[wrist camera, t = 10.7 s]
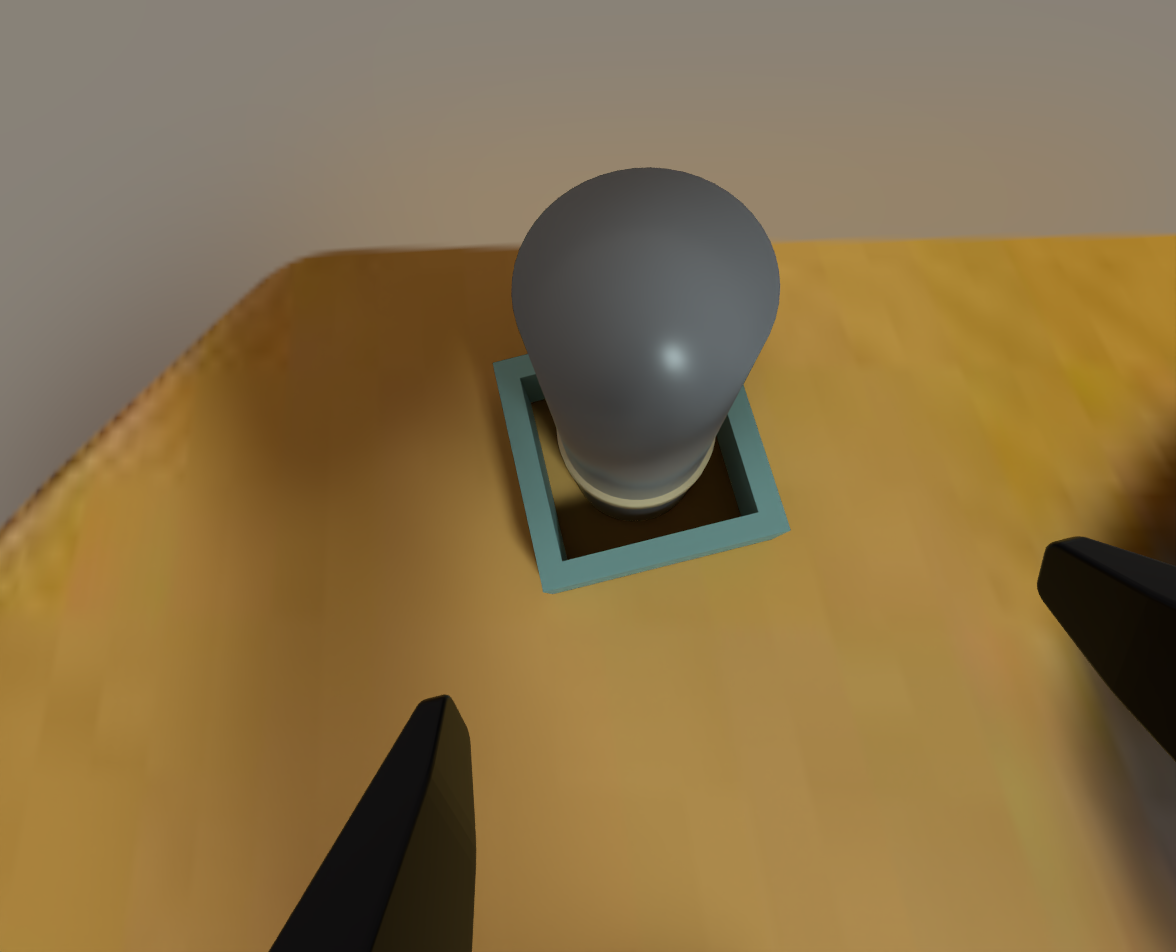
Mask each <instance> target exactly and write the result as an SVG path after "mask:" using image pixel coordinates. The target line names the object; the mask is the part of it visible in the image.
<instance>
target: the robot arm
mask: <svg viewBox="0 0 1176 952" xmlns="http://www.w3.org/2000/svg"><path fill="white" fill-rule="evenodd" d="M1037 589H1038V592H1039V595H1040V597H1041V599H1042V600H1043V602H1044V603H1045V604H1046V606H1047V607H1048V608H1049V610H1050V611H1051V612H1052V614H1053V615H1054V616H1055V618H1056V619H1057V620H1058V622H1059V623H1060V624H1061V626H1062V627H1063V628H1064V630H1065V631H1066V632H1067V634H1068V635H1069V636H1070V638H1071V639H1072V640H1073V642H1074V643H1075V644H1076V645H1077V647H1078V648H1079V649H1080V651H1081V652H1082V653H1083V655H1084V656H1085V657H1086V659H1087V660H1088V661H1089V663H1090V664H1091V665H1092V667H1093V668H1094V669H1095V671H1096V672H1097V673H1098V675H1099V676H1100V677H1101V678H1102V680H1103V681H1104V682H1105V683H1106V685H1107V686H1108V687H1109V688H1110V690H1111V691H1112V692H1113V693H1114V694H1115V696H1116V697H1117V698H1118V699H1119V700H1120V701H1121V702H1122V704H1123V705H1124V706H1125V707H1126V708H1127V709H1128V710H1129V711H1130V712H1131V714H1132V715H1133V716H1134V717H1135V718H1136V719H1137V720H1138V721H1139V722H1140V723H1141V725H1142V726H1143V727H1144V728H1145V729H1146V730H1147V731H1148V732H1149V733H1150V734H1151V736H1152V737H1153V738H1154V739H1155V740H1156V741H1157V742H1158V743H1159V744H1160V745H1161V746H1162V748H1163V749H1164V750H1165V751H1166V752H1167V753H1168V754H1169V755H1170V756H1171V757H1172V759H1173V760H1174V761H1175V762H1176V566H1174V565H1170V564H1167V563H1164V562H1161V561H1158V560H1155V559H1152V558H1149V557H1145V556H1142V555H1139V554H1136V553H1133V552H1130V551H1127V550H1124V549H1120V548H1117V547H1114V546H1111V545H1108V544H1105V543H1102V542H1099V541H1095V540H1092V539H1089V538H1086V537H1080V536H1078V537H1071V538H1067V539H1063V540H1059V541H1055V542H1052V543H1050V544H1049V545H1048V546H1047V547H1046V549H1045V552H1044V556H1043V560H1042V564H1041V568H1040V572H1039V577H1038V581H1037ZM475 875H476V831H475V814H474V796H473V779H472V762H471V745H470V737H469V732H468V729H467V726H466V724H465V723H464V721H463V719H462V717H461V715H460V713H459V711H458V709H457V707H456V705H455V703H454V702H453V700H452V698H451V697H450V696H449V695H440V696H436V697H432V698H428V699H425V700H423V701H421V702H420V703H419V704H418V706H417V707H416V709H415V710H414V712H413V714H412V715H411V717H410V719H409V720H408V722H407V724H406V725H405V727H404V729H403V730H402V732H401V734H400V735H399V737H398V738H397V740H396V742H395V743H394V745H393V747H392V748H391V750H390V752H389V753H388V755H387V757H386V758H385V760H384V762H383V763H382V765H381V767H380V768H379V770H378V772H377V773H376V775H375V777H374V778H373V780H372V782H371V783H370V785H369V786H368V788H367V790H366V791H365V793H364V795H363V796H362V798H361V800H360V801H359V803H358V805H357V806H356V808H355V810H354V811H353V813H352V815H351V816H350V818H349V820H348V821H347V823H346V825H345V826H344V828H343V829H342V831H341V833H340V834H339V836H338V838H337V839H336V841H335V843H334V844H333V846H332V848H331V849H330V851H329V853H328V854H327V856H326V858H325V859H324V861H323V863H322V864H321V866H320V868H319V869H318V871H317V872H316V874H315V876H314V877H313V879H312V881H311V882H310V884H309V886H308V887H307V889H306V891H305V892H304V894H303V896H302V897H301V899H300V901H299V902H298V904H297V906H296V907H295V909H294V911H293V912H292V914H291V915H290V917H289V919H288V920H287V922H286V924H285V925H284V927H283V929H282V930H281V932H280V934H279V935H278V937H277V939H276V940H275V942H274V944H273V945H272V947H271V949H270V950H269V952H472V939H473V918H474V897H475Z"/></svg>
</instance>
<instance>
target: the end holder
mask: <svg viewBox="0 0 1176 952" xmlns="http://www.w3.org/2000/svg"><path fill="white" fill-rule="evenodd" d="M493 367H494V371H495V376H496V380H497V385H498V389H499V394H500V398H501V403H502V407H503V412H504V416H505V421H506V425H507V430H508V434H509V439H510V443H511V448H512V453H513V457H514V462H515V466H516V471H517V475H518V480H519V484H520V489H521V493H522V498H523V502H524V507H525V511H526V516H527V520H528V525H529V529H530V534H531V538H532V543H533V547H534V552H535V556H536V561H537V565H538V570H539V574H540V579H541V584H542V588H543V592H545V593H550V594H555V593H559V592H563V591H567V590H571V589H575V588H579V587H583V586H587V585H591V584H595V583H599V582H603V581H607V580H611V579H615V578H619V577H623V576H627V575H631V574H635V573H639V572H643V571H647V570H651V569H655V568H659V567H663V566H667V565H671V564H675V563H679V562H683V561H687V560H691V559H695V558H699V557H703V556H707V555H711V554H715V553H719V552H723V551H727V550H731V549H735V548H739V547H743V546H747V545H751V544H755V543H759V542H763V541H767V540H771V539H773V538H775V537H778V536H780V535H782V534H784V533H786V532H788V531H790V527H789V524H788V520H787V517H786V514H785V511H784V508H783V505H782V502H781V499H780V496H779V493H778V490H777V487H776V484H775V481H774V477H773V474H772V471H771V468H770V465H769V462H768V459H767V456H766V453H765V450H764V447H763V444H762V441H761V438H760V435H759V431H758V428H757V425H756V422H755V419H754V416H753V413H752V410H751V407H750V404H749V401H748V398H747V395H746V392H745V388H744V385H743V386H742V387H741V389H740V391H739V393H738V395H737V397H736V399H735V401H734V403H733V405H732V406H731V408H730V410H729V412H728V414H727V416H726V418H725V420H724V422H723V424H722V425H721V427H720V429H719V431H718V433H717V435H716V436H717V439H718V443H719V446H720V449H721V452H722V456H723V459H724V462H725V465H726V469H727V472H728V475H729V478H730V482H731V485H732V488H733V491H734V495H735V498H736V501H737V504H738V508H739V511H740V514H741V517H738V518H734V519H730V520H726V521H722V522H718V523H714V524H710V525H706V526H702V527H698V528H694V529H690V530H686V531H682V532H678V533H674V534H670V535H666V536H662V537H658V538H654V539H650V540H646V541H642V542H638V543H634V544H630V545H626V546H622V547H618V548H614V549H610V550H606V551H602V552H598V553H594V554H590V555H586V556H582V557H578V558H574V559H570V560H567V555H566V551H565V547H564V542H563V538H562V534H561V530H560V525H559V521H558V517H557V512H556V508H555V504H554V500H553V495H552V491H551V487H550V483H549V478H548V474H547V470H546V465H545V461H544V457H543V453H542V448H541V444H540V440H539V435H538V431H537V427H536V423H535V418H534V414H533V410H532V406H531V402H535V401H539V400H543V399H545V397H544V394H543V391H542V389H541V386H540V384H539V381H538V378H537V376H536V373H535V371H534V368H533V365H532V363H531V360H530V358H529V355H528V354H526V355H522V356H518V357H514V358H510V359H506V360H502V361H498V362H494V363H493Z"/></svg>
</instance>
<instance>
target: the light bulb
mask: <svg viewBox="0 0 1176 952" xmlns="http://www.w3.org/2000/svg"><path fill="white" fill-rule="evenodd" d="M779 295H780V278H779V269H778V264H777V260H776V256H775V253H774V250H773V248H772V245H771V242H770V240H769V238H768V236H767V235H766V233H765V231H764V229H763V228H762V226H761V224H760V223H759V222H758V220H757V219H756V218H755V216H754V215H753V214H752V213H751V212H750V211H749V210H748V209H747V208H746V206H744V204H743V203H741V202H740V201H739V200H738V199H737V198H735V197H734V196H733V195H731V194H730V193H729V192H727V191H726V190H724V189H723V188H721V187H719V186H718V185H716V184H714V183H712V182H710V181H708V180H705V179H703V178H701V177H698V176H695V175H692V174H689V173H685V172H681V171H676V170H671V169H662V168H632V169H625V170H620V171H615V172H611V173H607V174H603V175H600V176H598V177H595V178H593V179H590V180H587V181H585V182H583V183H581V184H580V185H578V186H576V187H574V188H572V189H571V190H569V191H568V192H566V193H565V194H563V195H562V196H561V197H559V198H558V199H557V200H556V201H554V202H553V203H552V204H551V205H550V206H549V207H548V208H547V209H546V210H545V211H544V212H543V213H542V214H541V215H540V217H539V218H538V219H537V220H536V221H535V223H534V224H533V226H532V227H531V229H530V230H529V232H528V233H527V235H526V237H525V239H524V241H523V243H522V245H521V247H520V249H519V252H518V255H517V259H516V262H515V265H514V271H513V277H512V303H513V311H514V315H515V319H516V323H517V326H518V329H519V332H520V334H521V337H522V339H523V342H524V345H525V347H526V350H527V352H528V355H529V358H530V360H531V363H532V365H533V368H534V371H535V373H536V376H537V378H538V381H539V384H540V386H541V389H542V391H543V394H544V397H545V399H546V402H547V405H548V407H549V410H550V412H551V415H552V418H553V420H554V423H555V425H556V428H557V439H558V445H559V448H560V452H561V455H562V457H563V459H564V462H565V464H566V467H567V469H568V470H569V472H570V474H571V476H572V477H573V478H574V480H575V481H576V482H577V483H578V485H579V487H580V489H581V491H582V493H583V494H584V496H585V497H586V498H587V500H588V501H589V502H590V503H591V504H592V505H593V506H594V507H595V508H597V509H598V510H599V511H601V512H602V513H604V514H606V515H608V516H610V517H613V518H616V519H620V520H624V521H644V520H649V519H653V518H656V517H658V516H660V515H662V514H664V513H666V512H668V511H669V510H670V509H672V508H673V507H674V506H675V505H676V504H677V503H678V502H679V501H680V500H681V499H682V498H683V496H684V495H685V493H686V492H687V490H688V489H689V488H690V487H691V486H692V485H693V484H694V483H695V482H696V481H697V479H698V478H699V477H700V475H701V474H702V472H703V470H704V468H705V466H706V465H707V463H708V461H709V459H710V456H711V454H712V451H713V447H714V443H715V437H716V435H717V433H718V431H719V429H720V427H721V425H722V424H723V422H724V420H725V418H726V416H727V414H728V412H729V410H730V408H731V406H732V405H733V403H734V401H735V399H736V397H737V395H738V393H739V391H740V389H741V387H742V386H743V384H744V382H745V380H746V378H747V376H748V374H749V372H750V370H751V368H752V367H753V365H754V363H755V361H756V359H757V357H758V355H759V353H760V351H761V349H762V348H763V346H764V344H765V342H766V340H767V338H768V336H769V334H770V332H771V329H772V326H773V324H774V321H775V318H776V314H777V309H778V305H779Z"/></svg>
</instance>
